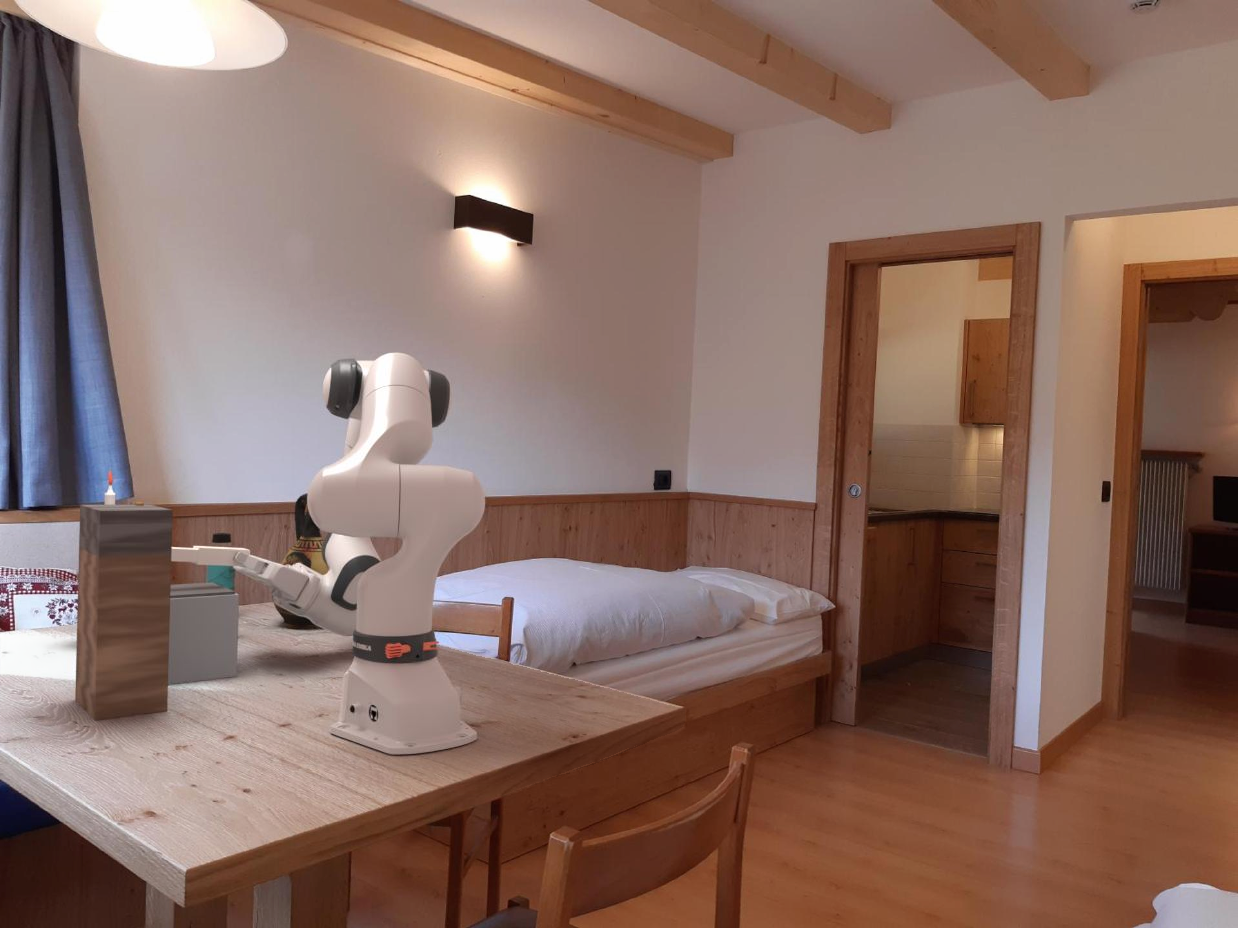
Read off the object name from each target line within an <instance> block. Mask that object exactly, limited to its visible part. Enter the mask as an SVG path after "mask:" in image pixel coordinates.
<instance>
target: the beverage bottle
mask: <svg viewBox="0 0 1238 928" xmlns="http://www.w3.org/2000/svg"><path fill="white" fill-rule="evenodd" d="M211 543H215V544H228V543H229V544H230V543H232V535H231V533H227V532H226V533H225V532H217V533H213V534H212V540H211ZM236 572H237V571H236V570H235V569H234V568H233V566H220V565H206V579H205V581H206V582H205V583H211V582H212V583H215V584H217V585H220V586H223V587H226V588H228V589H230V590H233V591H235V590H236V589H235V588H236V585H235V584H236V583H235V579H236V574H237V573H236Z"/></svg>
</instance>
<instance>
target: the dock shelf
mask: <svg viewBox="0 0 1238 928" xmlns="http://www.w3.org/2000/svg"><path fill="white" fill-rule="evenodd" d="M239 604H240V594H238V593H236V591H235V590H234V591H233V590H230V589H228V588H225V587H223V586H220V585H217V584H215V583H212V582H211V583H206V582H195V583H193V582H192V583H181V584H179V583H177V584H171V591H170V629H169V667H168V685H175V684H185V683H192V682H200V681H209V680H218V679H227V678H233V677H235V678H236V677H238V645H239V643H238V642H239V615H240V614H239V612H240V609H239V607H240V605H239Z"/></svg>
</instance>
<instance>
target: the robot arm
mask: <svg viewBox="0 0 1238 928" xmlns="http://www.w3.org/2000/svg"><path fill="white" fill-rule="evenodd" d="M450 386H451V385H450V381H449V379H448V378H447V376H446V375H445V374H443V373H441V372H438V371H436V370H432V369H429V368H428V369H427V370H425V369H424V368H423V366H422V365H421V363H420V362H419V361H418V360H417V359H416V358H415V357H414V356H412V355H409V354H407V353H403V352H388V353H386V354H382V355H381V356H379V357H377V358H375V360H356V358H343V359H338V360H336V361H335V362H333V363H332V364H331V365H330V367H329V369H328V370H327V372H326V374H325V377H324V379H323V383H322V397H323V400H324V403H325V407H326V409H327V410H328V413H330V414H331V415H332V416H335V417H337V418H341V419H345V420H349V422H348V425H347V426H348V427H347V431H346V436H345V442H344V451H343V457H342V458H340V459H338V460H337V461H334V462H333V463H332V464H328V465H327V466H324V467H323V468H321V469H320V470H319V471H318V472H317V474H315V476H314V477H313V478H312V480H311V483H310V484H309V487H308V491H307V493H308V495H307V504H306V506H307V511H308V510H309V513H310V516H311V518H312V520H313V521H314V523H315V524H316V525H317V527H318V528H319V529H320V532H321V531H322V532H326V533H327V534H326V536H325V538H324V539H323V540H324V542H323V545H322V558H323V560H324V562H325V564H326V565H327V567H328V568H329V571H328V573H327V574H325V575H321V574H319V573H317V572H316V571H314V570H312V569H310V568H308V567H307V566H305V565H303V564H301V563H295V564H293V565H292V566H291V565H282V564H281V563H278V562H274V561H271V560H269V559H266V558H262V557H259V556H256V555H253V554H250V556H248V555H246V554H244V553H242V552H239V551H238V552H236V553H235V555H234V557H233V559H234V560H235V561H237V562H239V563H241V564H243V565H244V566H233V568H234V569H235V570H236V572H238V573H241V574H242V575H244V576H246V577H248V578H250V579H252V580H254V581H255V582H258V583H260V584H262V585H265V586H268V587H269V593H270V594H271V596H272V595H273V599H272V602H273V601H274V602H273V604H274V603H275V604H276V605H278V606H280V607H282V608H284V609H286V610H288V611H290V612H292V613H294V614H296V615H298V616H303V617H306V618H308V619H309V620H310V621H311V622H312V623H314V624H315V625H317V626H319V627H318V628H321V629H323V630H326V631H329V632H331V633H333V634H335V635H338V636H343V637H352V639H351V645H352V649H351V651H352V652H351V653H352V655H353V660H352V663H351V665H350V666H349V667H348V669H347V670H346V671H345V673H343V677H342V686H341V695H340V696H341V697H340V704H339V705H340V707H339V717H338V721H336V722H333V723H332V724H331V725H330V730H329V733H331V734H333V735H334V736H337V737H340V738H343V739H346V740H349V741H352V742H354V743H358V744H361V745H363V746H366V747H369V748H372V749H373V750H376V751H377V750H378V751H380V752H383V753H384V754H385V753H386V754H389V755H411V754H423V753H430V752H435V751H442V750H446V749H451V748H456V747H460V746H464V745H467V744H470V743H472V742H474V741H476V740H478V733H477V731H476V730H475V729H474V728H472V727H471V726H469V725H468V723H466V722H465V721H464V720H462V718H461V714H462V713H461V710H462V709H461V700H462V694H463V691H462V689H461V687H460V686H459V685H458V686H454V685H453V683H452V681H451V679H450V678H449V677H448V675H447V673H446V671H445V669H444V668H443V667H442V666H441V664H440V662H439V659H438V657H437V656H438V654H439V652H438V650H439V649H440V647H438V646H437V645H438V644H439V643H440V642H439V641H437V637H436V635H435V630H434V628H432V627H433V608H434V607H433V606H434V598H435V597H434V596H435V591H436V590H435V589H436V584H437V583H436V581H437V578H438V574H439V572H440V569H441V566H442V564H443V562H444V561H445V559H446V557H447V556H448V554H449V553H450V551H452V549H453V548H454V547H455V546H456V545H457V543H459V542H460V541H461V540H462V539H463V538H464V537H466V536H468V535H469V534H470V533H471V532H472V531H474V530H475V528H476V527H477V526H478V525H479V524H480V522H481V520H482V519H483V515H484V512H485V507H486V496H485V495H486V494H485V491H484V488H483V486H482V484H481V481H480V480H479V478H478V477H477V476H476V475H475V473H473V472H472V471H470V470H467V469H466V470H465V469H461V468H457V467H453V466H448V465H441V464H440V465H439V464H419V463H420V462H421V461H422V460H423V459H424V458H425V457H426V456H427V454H428V453H429V452H430V450H431V448H432V444H433V440H434V439H433V438H434V437H433V428H438V427H439V426H441V425H442V424H443V423H444V422H445V421H446V419H447V416H448V414H449V413H450V410H451V408H452V401H453V397H452V396H453V395H452V390H451V387H450ZM372 538H397V539H400V540H402V544H401V547H400V549H399V550H398V552H397V553H395V554H394V555H392V556H390V557H388V558H387V559H386V558H385V559H384V560H381V558H380V556H379V553H377V550H376V549H375V547H374V544H373V541H372Z"/></svg>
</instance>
